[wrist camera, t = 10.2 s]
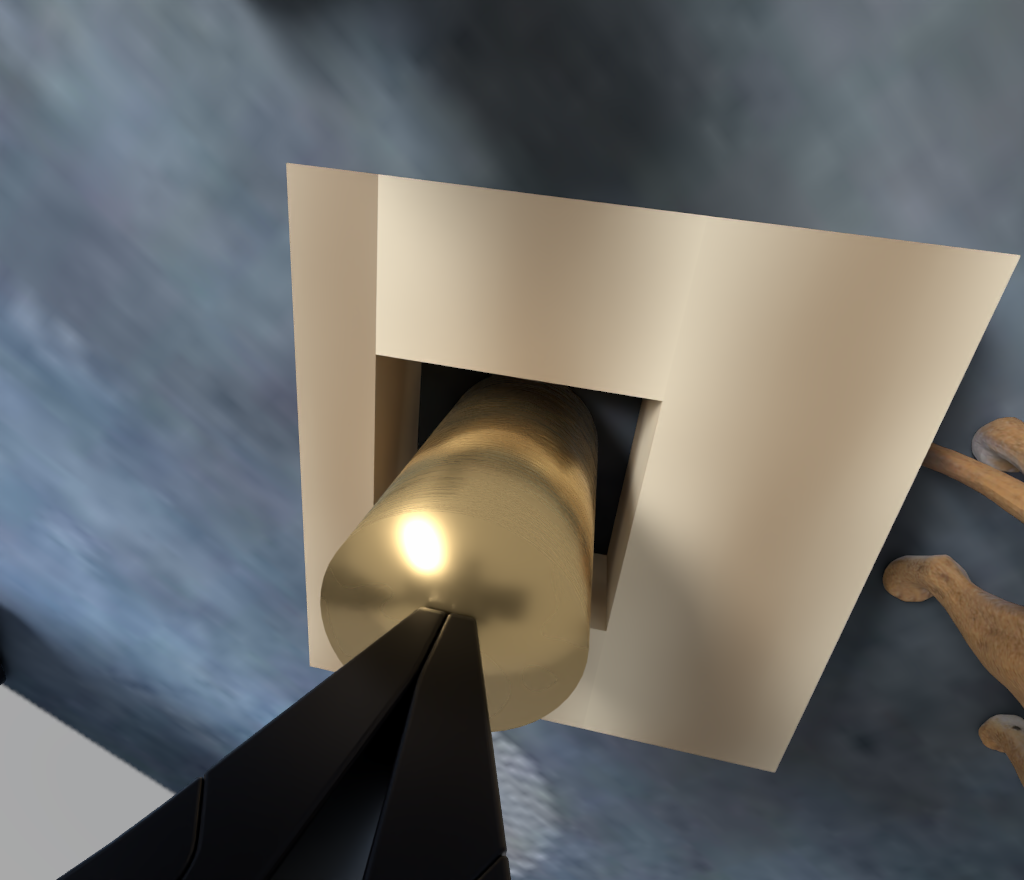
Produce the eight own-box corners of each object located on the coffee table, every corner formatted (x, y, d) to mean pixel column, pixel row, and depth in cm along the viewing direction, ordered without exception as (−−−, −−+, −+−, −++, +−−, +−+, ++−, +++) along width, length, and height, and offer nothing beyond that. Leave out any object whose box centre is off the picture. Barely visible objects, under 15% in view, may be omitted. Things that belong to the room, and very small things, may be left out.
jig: (357, 593, 17) (309, 666, 14) (358, 174, 12) (286, 162, 9) (746, 676, 16) (774, 772, 13) (917, 245, 11) (1020, 255, 8)
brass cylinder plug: (442, 496, 15) (323, 699, 9) (453, 359, 14) (316, 486, 7) (583, 522, 15) (565, 757, 8) (611, 384, 13) (615, 544, 7)
